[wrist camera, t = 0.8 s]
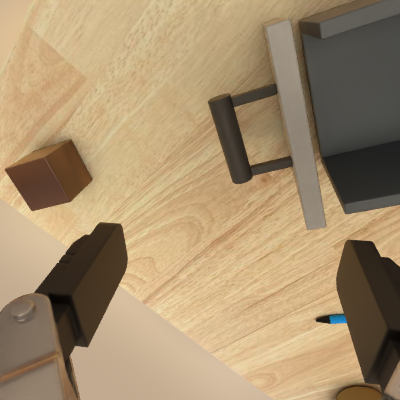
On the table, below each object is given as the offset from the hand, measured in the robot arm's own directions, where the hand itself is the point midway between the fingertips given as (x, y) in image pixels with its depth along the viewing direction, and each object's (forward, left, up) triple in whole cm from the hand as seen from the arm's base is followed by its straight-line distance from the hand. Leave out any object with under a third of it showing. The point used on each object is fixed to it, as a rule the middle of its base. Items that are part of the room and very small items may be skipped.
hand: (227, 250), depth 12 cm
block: (0, -19, -18) cm, 26 cm away
